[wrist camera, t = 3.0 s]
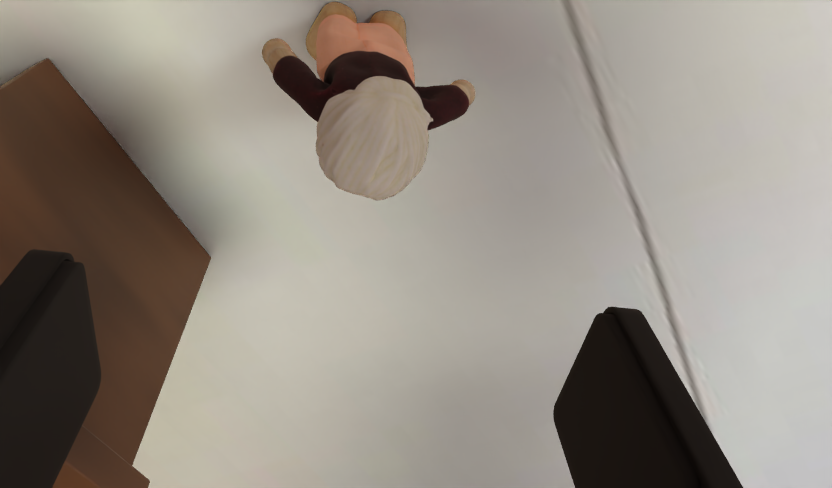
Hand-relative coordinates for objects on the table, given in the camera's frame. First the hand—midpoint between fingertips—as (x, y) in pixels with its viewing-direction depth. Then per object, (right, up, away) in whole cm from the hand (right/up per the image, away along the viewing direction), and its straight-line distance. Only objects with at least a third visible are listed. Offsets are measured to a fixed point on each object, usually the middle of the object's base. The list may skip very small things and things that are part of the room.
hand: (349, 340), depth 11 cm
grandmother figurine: (-1, +11, +16) cm, 19 cm away
